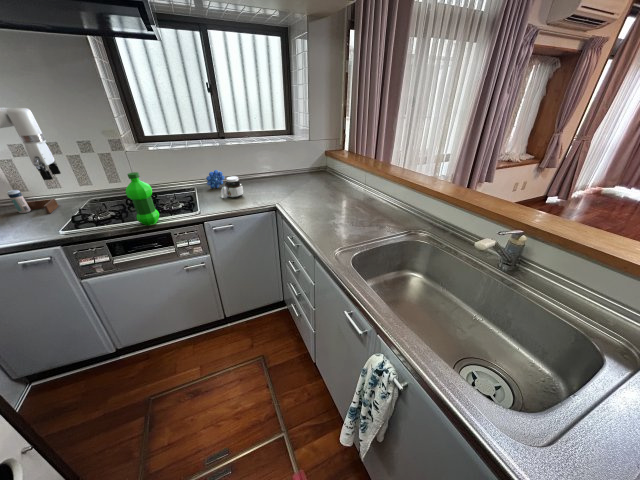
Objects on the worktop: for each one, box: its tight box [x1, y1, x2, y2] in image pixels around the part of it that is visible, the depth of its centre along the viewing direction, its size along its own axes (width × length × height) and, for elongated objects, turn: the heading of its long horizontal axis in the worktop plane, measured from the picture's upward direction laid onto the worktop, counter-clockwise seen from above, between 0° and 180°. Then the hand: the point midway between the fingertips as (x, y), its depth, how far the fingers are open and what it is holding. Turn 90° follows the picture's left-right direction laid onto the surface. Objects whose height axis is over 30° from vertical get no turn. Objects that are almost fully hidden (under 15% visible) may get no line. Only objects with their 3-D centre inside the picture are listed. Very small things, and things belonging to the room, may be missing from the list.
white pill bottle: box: [7, 189, 32, 214], centre depth 141 cm, size 5×5×12 cm
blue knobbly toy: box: [205, 169, 225, 189], centre depth 176 cm, size 12×7×12 cm, turn 116°
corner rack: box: [26, 198, 59, 215], centre depth 143 cm, size 15×12×4 cm
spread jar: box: [220, 175, 244, 199], centre depth 161 cm, size 12×11×12 cm
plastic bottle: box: [125, 171, 160, 226], centre depth 126 cm, size 10×10×25 cm
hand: (52, 176), depth 127 cm, fingers open, 9 cm apart
